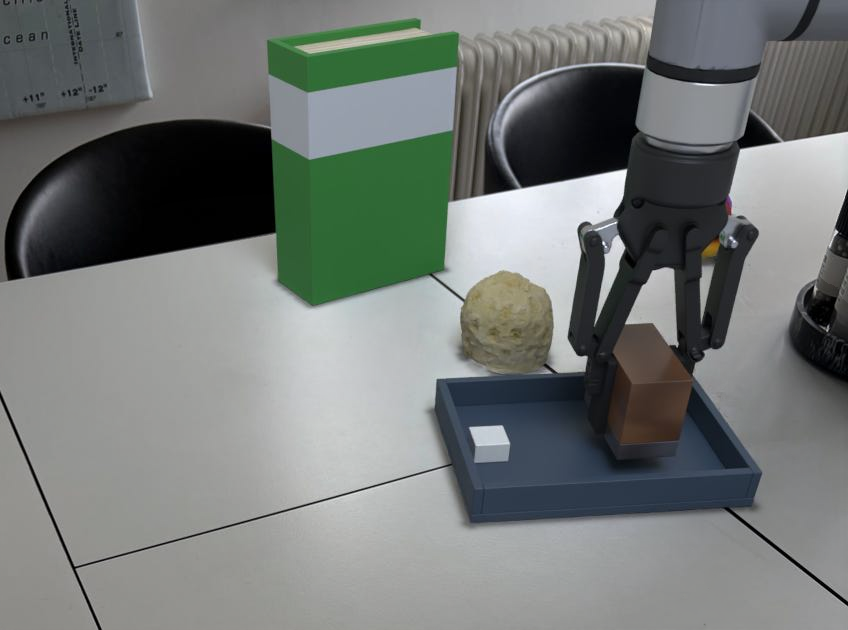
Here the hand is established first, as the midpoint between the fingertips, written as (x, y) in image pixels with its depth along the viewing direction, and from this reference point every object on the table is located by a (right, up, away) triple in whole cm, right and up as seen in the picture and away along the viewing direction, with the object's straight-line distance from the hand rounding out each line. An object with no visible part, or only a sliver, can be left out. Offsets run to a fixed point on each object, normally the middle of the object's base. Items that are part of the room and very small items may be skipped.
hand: (628, 423), depth 89 cm
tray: (-3, -2, +2) cm, 5 cm away
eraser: (0, 0, 0) cm, 0 cm away
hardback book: (-23, +23, +29) cm, 43 cm away
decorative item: (-9, +10, +15) cm, 20 cm away
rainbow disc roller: (+17, +28, +35) cm, 48 cm away
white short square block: (-12, -2, 0) cm, 12 cm away
